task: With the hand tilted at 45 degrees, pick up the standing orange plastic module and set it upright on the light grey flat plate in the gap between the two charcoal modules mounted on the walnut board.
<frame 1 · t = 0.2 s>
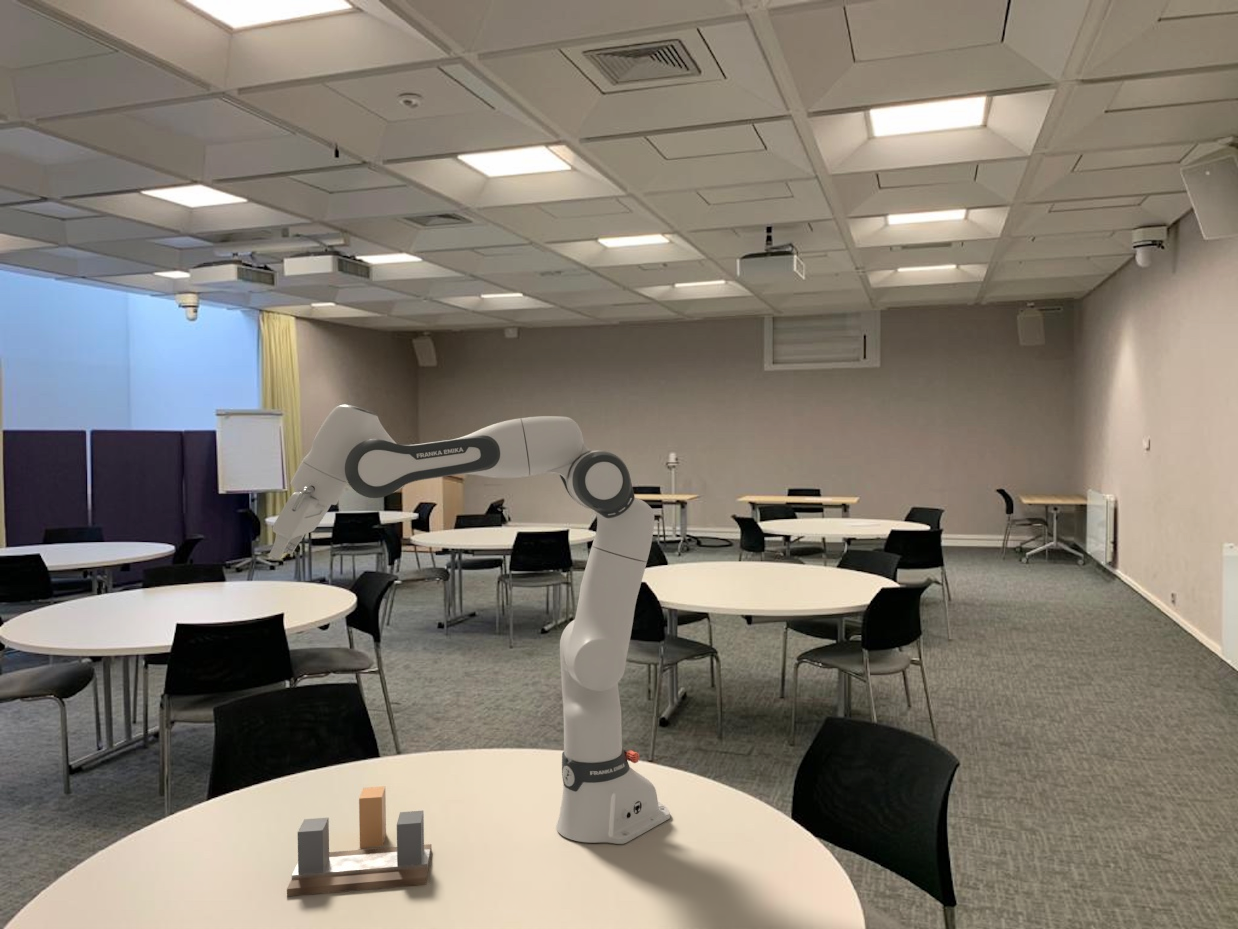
hand: (280, 554, 150), 54 cm above the table, tool tilted 30°, fingers open, 8 cm apart
module: (373, 840, 155), on the table
mounted modules: (362, 841, 143), on the light grey flat plate, point 5 cm above the table
light grey flat plate: (362, 863, 143), on the board, point 1 cm above the table
board: (363, 872, 143), on the table
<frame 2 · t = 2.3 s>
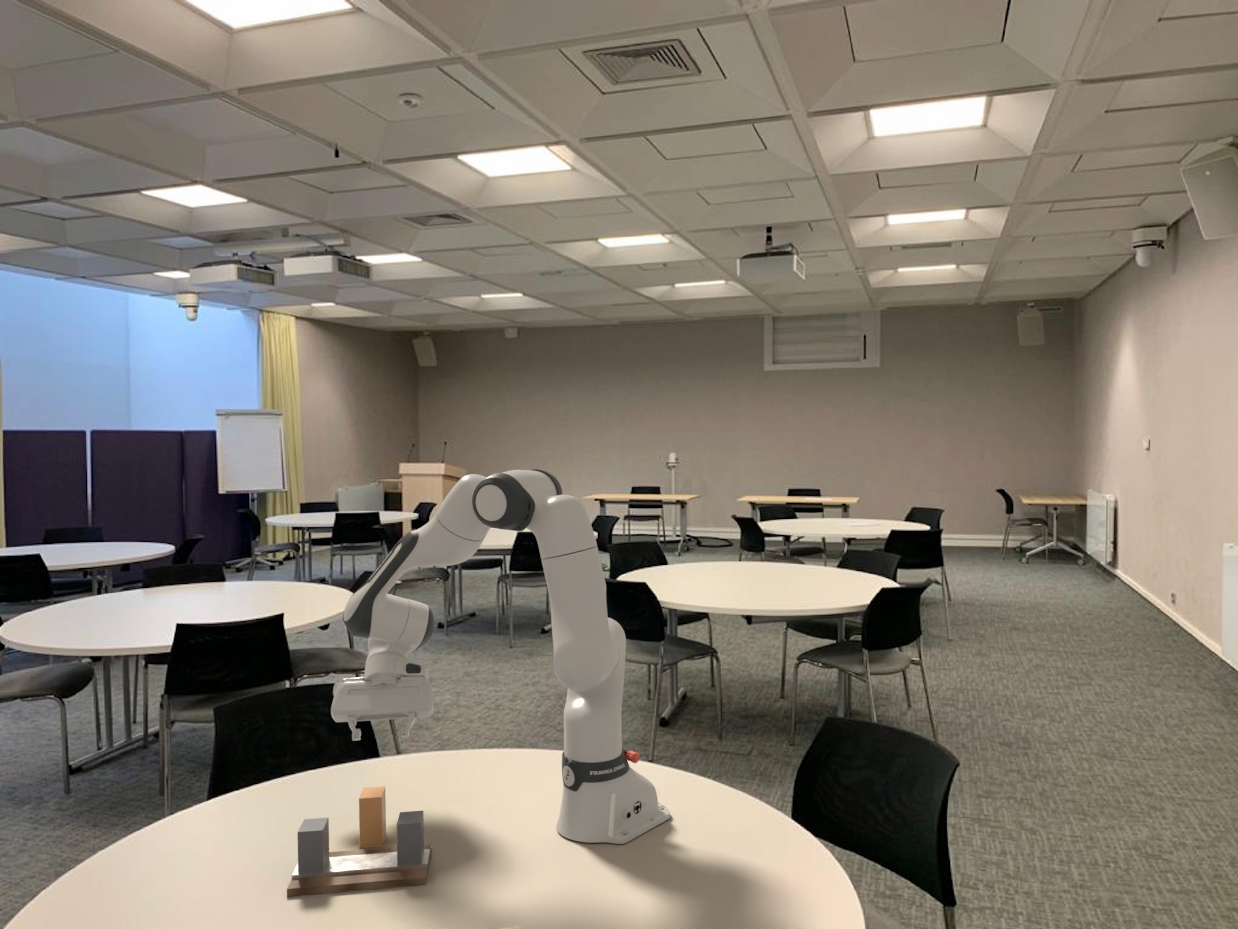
hand: (380, 738, 167), 15 cm above the table, tool tilted 45°, fingers open, 8 cm apart
nothing on the table moved.
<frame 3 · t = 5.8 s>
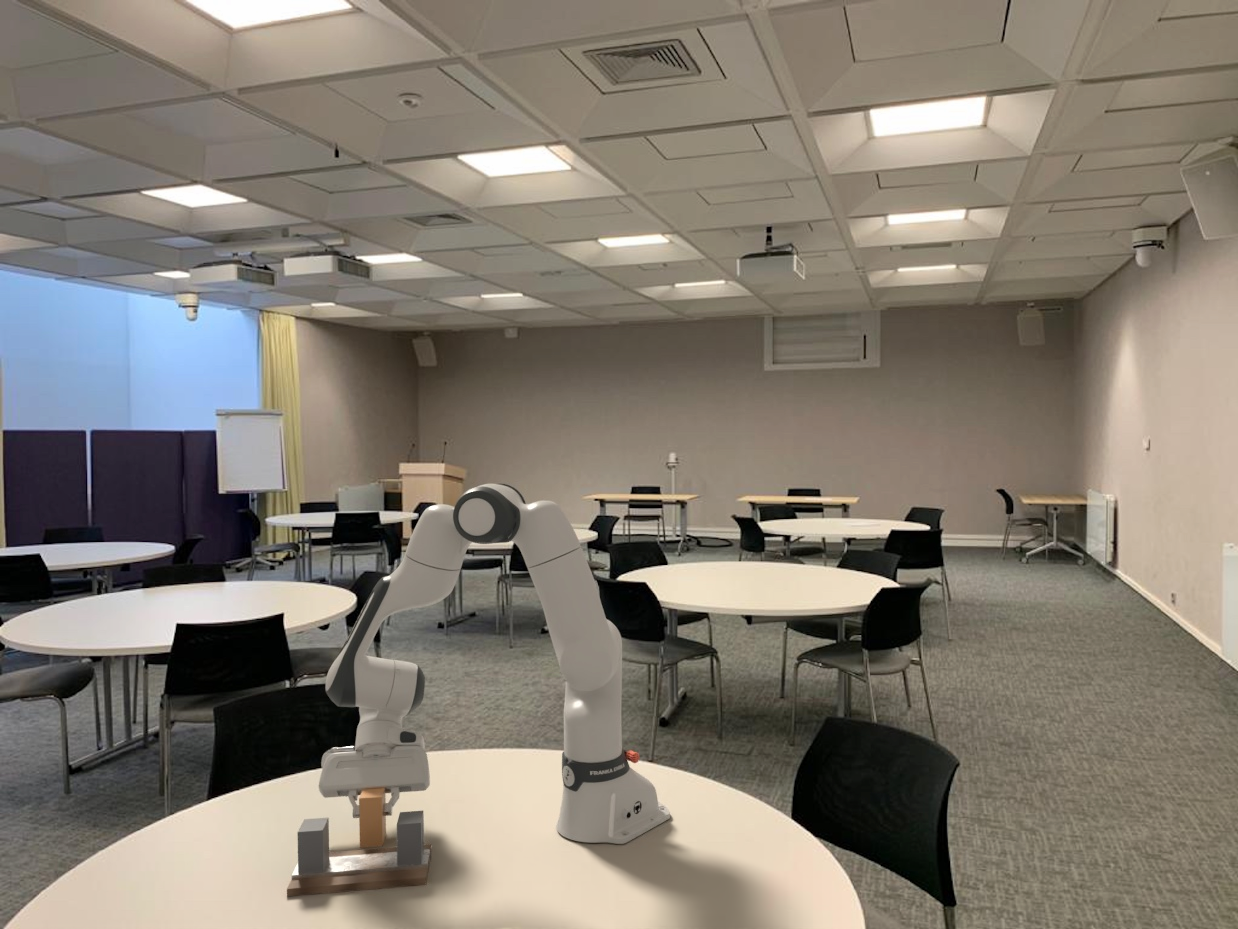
hand: (372, 815, 154), 5 cm above the table, tool tilted 45°, fingers closed on module, 4 cm apart
module: (373, 840, 155), on the table, touching gripper
when the fingers open (8 cm above the table, at t = 10.6 s): module drops 1 cm, resting on light grey flat plate.
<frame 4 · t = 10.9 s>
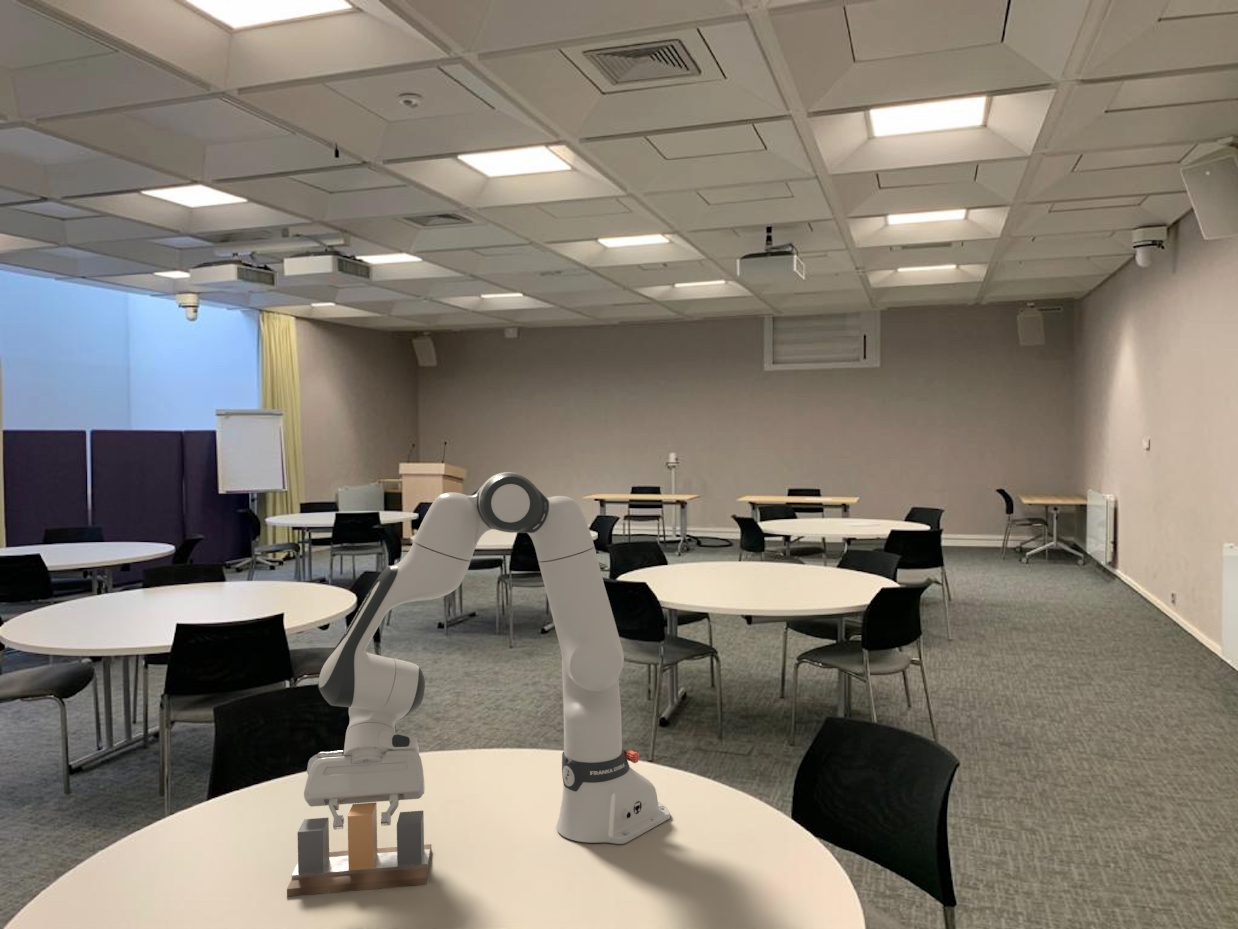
hand: (361, 826, 142), 8 cm above the table, tool tilted 45°, fingers open, 6 cm apart
module: (363, 861, 143), point 2 cm above the table, touching light grey flat plate
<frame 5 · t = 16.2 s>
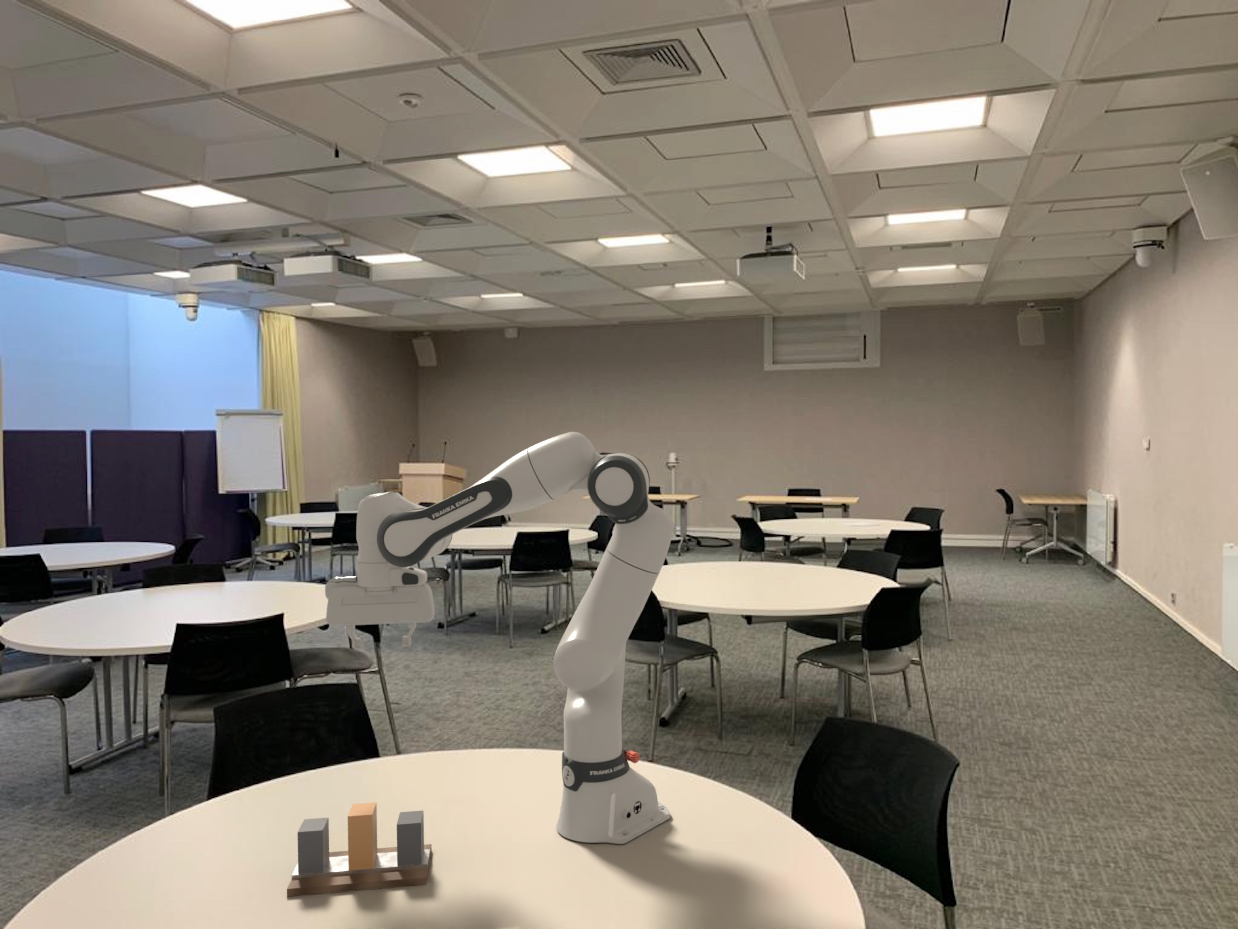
hand: (381, 646, 163), 34 cm above the table, tool pointing down, fingers open, 8 cm apart
nothing on the table moved.
at the end: module 0.1 cm off-centre on the board, point 1.8 cm above the board's base; module tilted 0°; the gripper is holding nothing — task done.
